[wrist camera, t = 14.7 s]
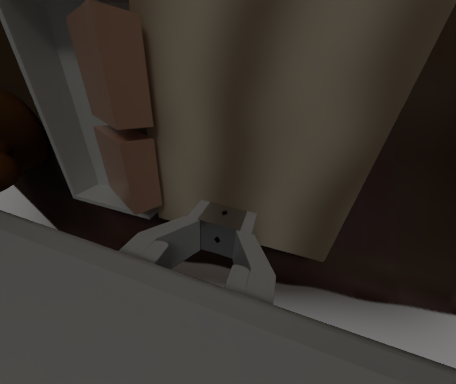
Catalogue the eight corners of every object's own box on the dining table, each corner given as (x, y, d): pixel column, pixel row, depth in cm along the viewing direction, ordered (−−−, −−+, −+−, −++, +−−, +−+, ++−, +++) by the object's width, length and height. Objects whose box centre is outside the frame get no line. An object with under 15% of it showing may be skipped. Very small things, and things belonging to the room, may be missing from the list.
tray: (150, -3, 11) (106, -31, 8) (169, 200, 18) (149, 219, 15) (45, -2, 12) (-19, -26, 10) (101, 184, 19) (73, 198, 17)
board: (427, -6, 8) (476, -39, 6) (319, 237, 15) (323, 262, 13) (157, -3, 11) (124, -26, 8) (174, 202, 18) (158, 217, 16)
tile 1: (139, 14, 9) (87, -2, 7) (153, 126, 11) (117, 129, 10) (106, 26, 11) (65, 17, 10) (123, 113, 14) (92, 114, 13)
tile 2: (153, 138, 12) (119, 143, 10) (162, 204, 14) (135, 215, 13) (122, 123, 14) (92, 126, 13) (134, 180, 17) (110, 187, 16)
